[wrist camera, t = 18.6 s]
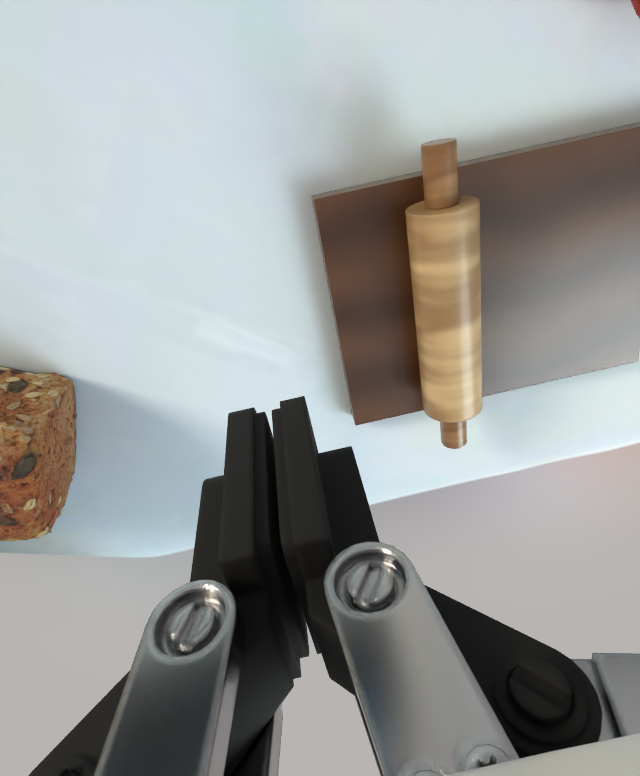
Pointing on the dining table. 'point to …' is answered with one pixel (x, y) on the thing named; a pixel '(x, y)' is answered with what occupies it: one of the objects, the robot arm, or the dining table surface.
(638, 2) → the onion
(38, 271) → the dining table surface
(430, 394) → the rolling pin
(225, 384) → the dining table surface
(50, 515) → the bread
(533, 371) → the pastry board
